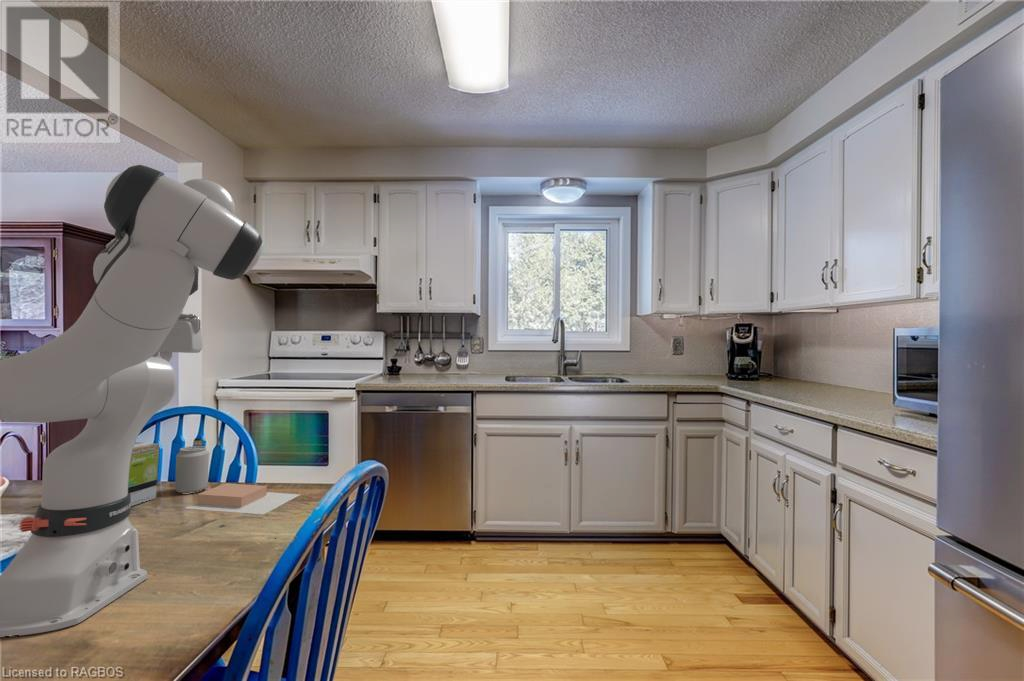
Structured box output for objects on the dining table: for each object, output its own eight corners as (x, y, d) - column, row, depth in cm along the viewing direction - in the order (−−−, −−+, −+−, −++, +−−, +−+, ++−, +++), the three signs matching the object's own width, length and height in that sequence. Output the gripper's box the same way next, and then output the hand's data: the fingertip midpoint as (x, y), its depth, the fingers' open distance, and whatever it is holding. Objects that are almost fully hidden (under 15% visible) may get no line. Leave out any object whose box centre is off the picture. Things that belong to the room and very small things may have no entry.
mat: (263, 516, 116) (263, 514, 116) (183, 510, 118) (184, 508, 118) (300, 496, 132) (300, 494, 132) (229, 491, 134) (229, 489, 134)
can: (195, 495, 130) (197, 450, 130) (168, 494, 130) (169, 449, 130) (213, 487, 137) (215, 445, 137) (187, 486, 137) (189, 444, 137)
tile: (241, 497, 120) (197, 494, 121) (241, 508, 120) (197, 504, 121) (266, 486, 130) (225, 483, 131) (266, 495, 130) (225, 493, 131)
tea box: (100, 518, 112) (103, 454, 112) (64, 514, 113) (67, 451, 113) (158, 498, 126) (160, 442, 127) (125, 495, 128) (127, 439, 128)
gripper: (210, 315, 117) (208, 372, 117) (135, 313, 120) (132, 369, 120) (189, 313, 111) (187, 373, 111) (110, 311, 114) (108, 370, 113)
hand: (158, 371), depth 115 cm, fingers closed
